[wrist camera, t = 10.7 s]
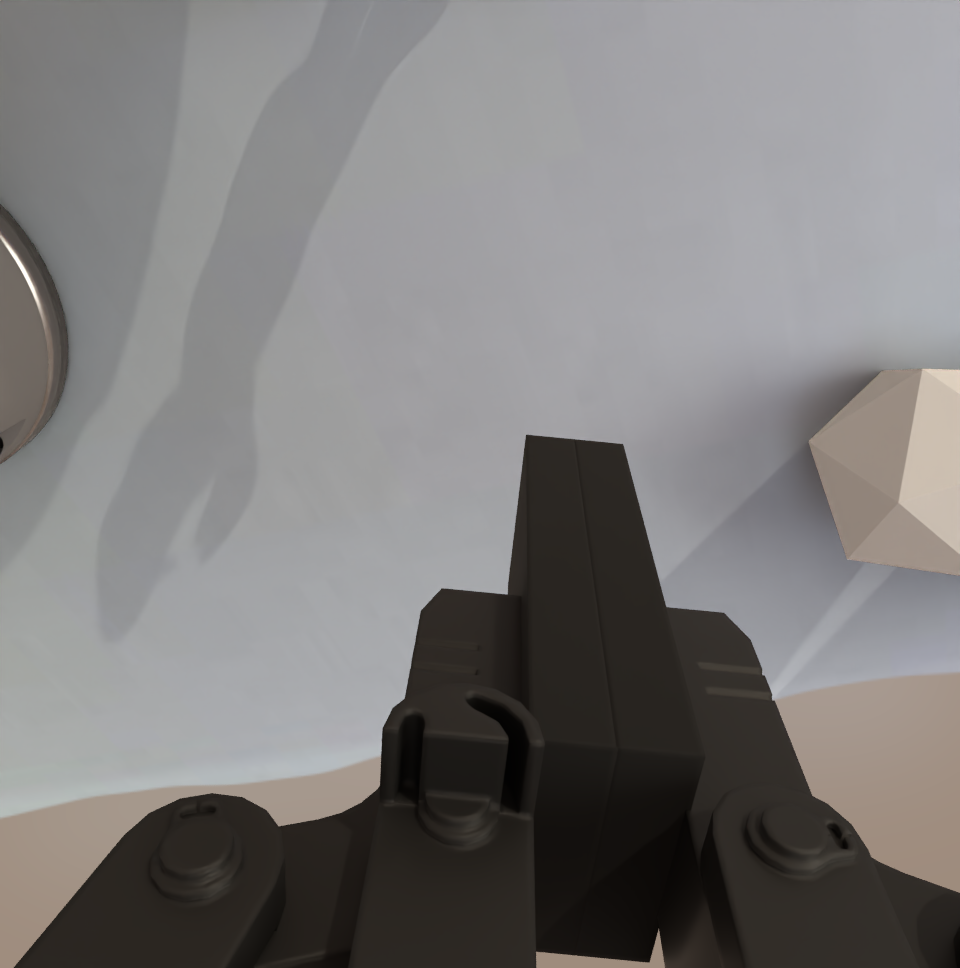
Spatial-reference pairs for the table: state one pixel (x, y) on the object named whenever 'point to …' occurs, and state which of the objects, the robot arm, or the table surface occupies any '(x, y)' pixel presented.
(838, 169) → the table surface
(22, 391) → the robot arm
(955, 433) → the die
